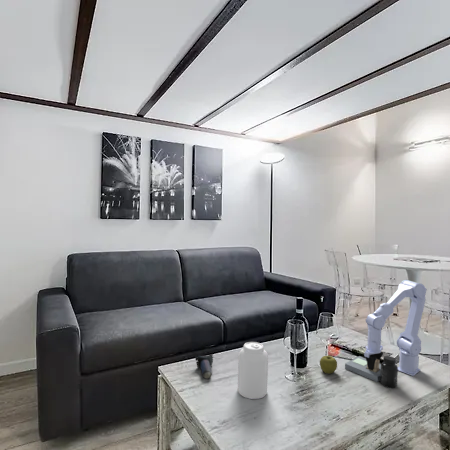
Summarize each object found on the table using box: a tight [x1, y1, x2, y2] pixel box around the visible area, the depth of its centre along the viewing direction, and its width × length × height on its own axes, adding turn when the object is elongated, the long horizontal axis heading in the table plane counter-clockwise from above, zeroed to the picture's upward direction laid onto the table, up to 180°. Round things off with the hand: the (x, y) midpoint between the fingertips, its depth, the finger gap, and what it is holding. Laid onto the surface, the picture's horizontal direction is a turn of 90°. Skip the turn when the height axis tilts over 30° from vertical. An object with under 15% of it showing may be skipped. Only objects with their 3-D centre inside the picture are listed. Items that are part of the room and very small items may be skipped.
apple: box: [319, 355, 338, 375], centre depth 154 cm, size 8×8×7 cm
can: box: [237, 341, 269, 400], centre depth 135 cm, size 12×12×20 cm
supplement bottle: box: [379, 355, 399, 389], centre depth 144 cm, size 7×7×12 cm
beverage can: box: [194, 353, 214, 380], centre depth 151 cm, size 9×8×12 cm
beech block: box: [367, 359, 381, 372], centre depth 153 cm, size 4×4×7 cm
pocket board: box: [344, 355, 381, 383], centre depth 157 cm, size 14×16×3 cm
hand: (373, 367), depth 154 cm, fingers closed on beech block, 4 cm apart
